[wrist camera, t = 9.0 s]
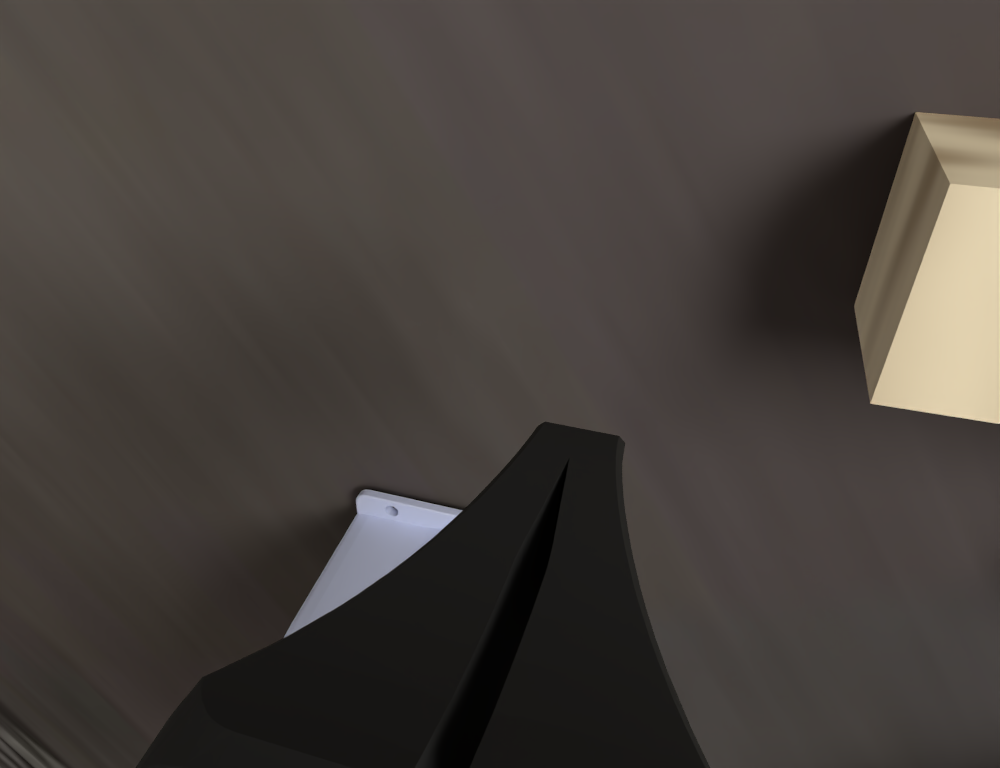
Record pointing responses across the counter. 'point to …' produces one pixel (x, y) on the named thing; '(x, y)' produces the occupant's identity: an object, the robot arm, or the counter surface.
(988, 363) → the block
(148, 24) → the counter surface
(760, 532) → the counter surface
